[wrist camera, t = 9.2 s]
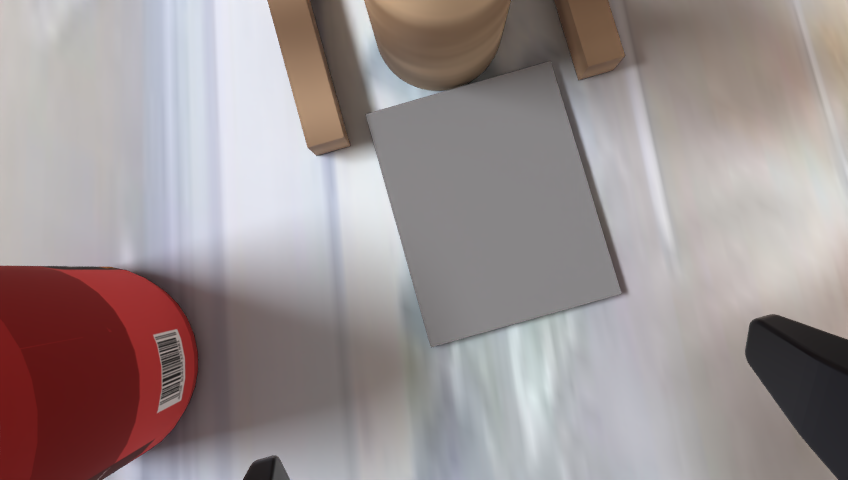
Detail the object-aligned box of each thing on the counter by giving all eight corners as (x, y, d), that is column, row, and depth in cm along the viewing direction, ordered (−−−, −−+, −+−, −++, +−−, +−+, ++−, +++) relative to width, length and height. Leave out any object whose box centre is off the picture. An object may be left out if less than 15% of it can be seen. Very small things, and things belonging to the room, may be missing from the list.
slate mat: (618, 293, 22) (621, 293, 21) (431, 345, 22) (430, 347, 22) (548, 64, 22) (550, 60, 22) (366, 116, 23) (365, 114, 22)
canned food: (117, 229, 23) (-187, 192, 12) (244, 364, 22) (52, 458, 11) (-13, 355, 23) (-443, 438, 12) (113, 494, 22) (-212, 717, 11)
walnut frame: (612, 70, 22) (625, 55, 21) (316, 155, 23) (307, 147, 21) (554, -119, 23) (562, -146, 21) (265, -33, 23) (252, -54, 22)
